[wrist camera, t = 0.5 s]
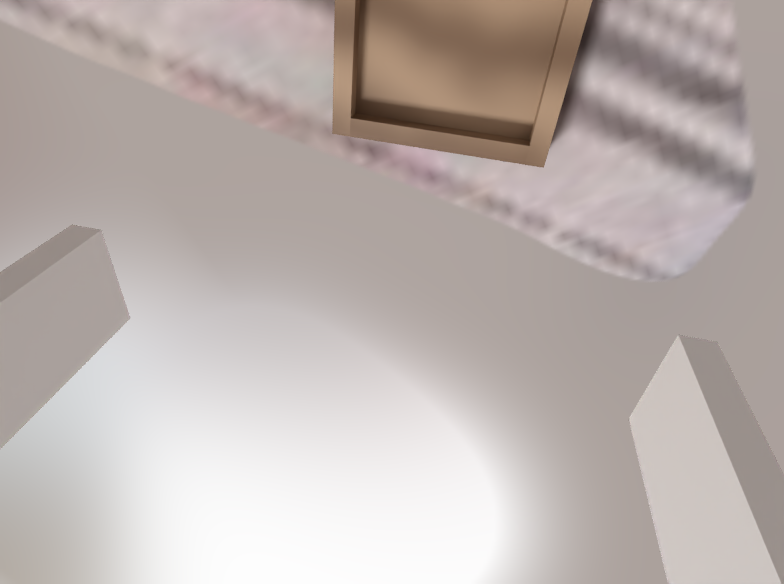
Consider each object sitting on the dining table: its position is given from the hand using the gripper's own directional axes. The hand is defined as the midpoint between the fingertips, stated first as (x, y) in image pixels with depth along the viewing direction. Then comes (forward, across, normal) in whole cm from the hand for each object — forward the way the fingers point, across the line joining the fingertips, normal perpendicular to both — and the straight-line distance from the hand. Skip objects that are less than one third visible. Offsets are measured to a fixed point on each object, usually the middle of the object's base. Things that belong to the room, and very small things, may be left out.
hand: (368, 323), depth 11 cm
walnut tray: (+25, -1, +3) cm, 25 cm away
